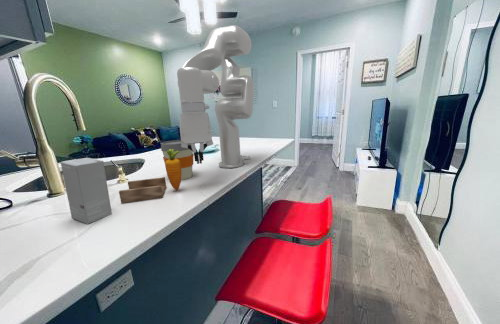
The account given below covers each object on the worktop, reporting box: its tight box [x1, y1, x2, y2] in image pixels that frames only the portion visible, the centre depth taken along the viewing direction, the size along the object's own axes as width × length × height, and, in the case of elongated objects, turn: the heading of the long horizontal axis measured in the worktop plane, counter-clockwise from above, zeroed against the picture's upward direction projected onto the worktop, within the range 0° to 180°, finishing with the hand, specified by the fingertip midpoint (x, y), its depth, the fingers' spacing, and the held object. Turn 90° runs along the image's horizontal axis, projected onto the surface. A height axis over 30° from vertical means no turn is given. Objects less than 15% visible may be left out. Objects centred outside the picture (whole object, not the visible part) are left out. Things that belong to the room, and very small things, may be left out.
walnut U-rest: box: [118, 176, 167, 205], centre depth 70 cm, size 12×10×4 cm
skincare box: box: [60, 157, 113, 225], centre depth 55 cm, size 8×7×16 cm
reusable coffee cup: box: [160, 139, 195, 181], centre depth 86 cm, size 13×13×15 cm
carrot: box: [164, 149, 182, 192], centre depth 71 cm, size 5×5×15 cm
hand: (199, 162), depth 72 cm, fingers closed
